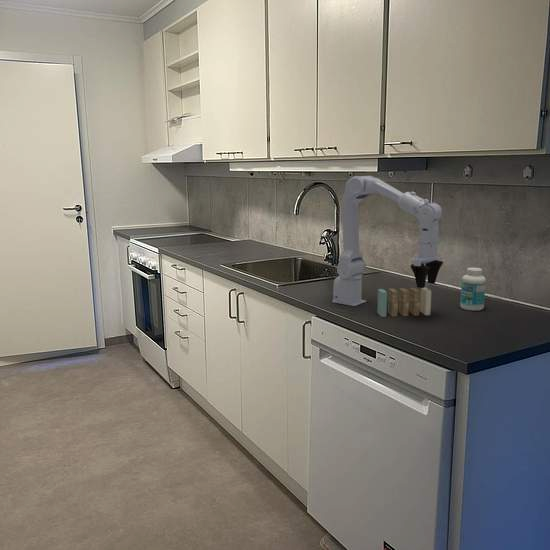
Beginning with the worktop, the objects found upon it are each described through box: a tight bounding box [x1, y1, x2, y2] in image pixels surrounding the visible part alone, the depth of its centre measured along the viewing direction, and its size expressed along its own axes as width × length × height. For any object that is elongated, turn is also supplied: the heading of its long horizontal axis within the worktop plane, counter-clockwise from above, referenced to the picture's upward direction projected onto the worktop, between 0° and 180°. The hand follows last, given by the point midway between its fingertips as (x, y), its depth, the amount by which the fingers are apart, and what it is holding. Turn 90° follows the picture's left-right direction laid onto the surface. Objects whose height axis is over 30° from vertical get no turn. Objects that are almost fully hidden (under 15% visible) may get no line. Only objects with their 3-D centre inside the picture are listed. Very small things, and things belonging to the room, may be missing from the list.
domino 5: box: [419, 287, 432, 316], centre depth 172 cm, size 2×5×8 cm, turn 5°
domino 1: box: [376, 288, 388, 318], centre depth 171 cm, size 2×5×8 cm, turn 5°
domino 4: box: [409, 287, 421, 317], centre depth 171 cm, size 2×5×8 cm, turn 5°
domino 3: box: [398, 287, 410, 317], centre depth 171 cm, size 2×5×8 cm, turn 5°
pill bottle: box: [459, 267, 487, 312], centre depth 176 cm, size 8×7×14 cm
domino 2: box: [387, 288, 399, 317], centre depth 171 cm, size 2×5×8 cm, turn 5°
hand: (426, 285), depth 167 cm, fingers open, 7 cm apart
